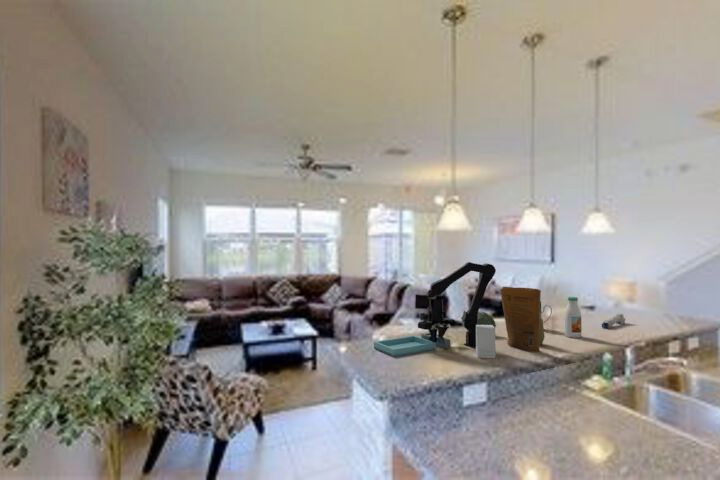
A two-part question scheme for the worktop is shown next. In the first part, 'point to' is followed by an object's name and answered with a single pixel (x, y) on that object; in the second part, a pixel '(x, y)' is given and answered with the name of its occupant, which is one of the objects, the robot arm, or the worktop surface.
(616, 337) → the worktop surface
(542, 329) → the squeeze bottle
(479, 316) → the vegetable
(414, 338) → the bin
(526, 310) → the pancake mix bag
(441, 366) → the worktop surface
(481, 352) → the supplement box
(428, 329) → the robot arm
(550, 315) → the glass holder
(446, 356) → the worktop surface
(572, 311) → the milk bottle
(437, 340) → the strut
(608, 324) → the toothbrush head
